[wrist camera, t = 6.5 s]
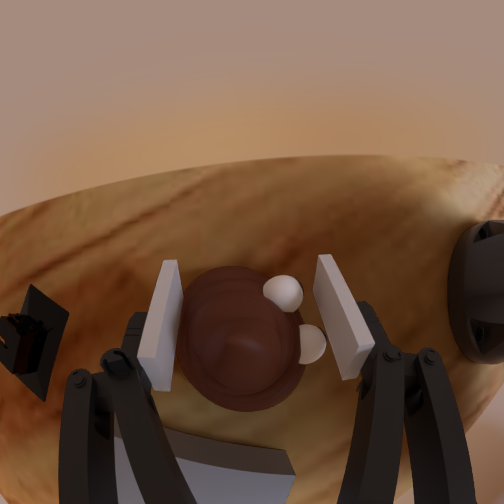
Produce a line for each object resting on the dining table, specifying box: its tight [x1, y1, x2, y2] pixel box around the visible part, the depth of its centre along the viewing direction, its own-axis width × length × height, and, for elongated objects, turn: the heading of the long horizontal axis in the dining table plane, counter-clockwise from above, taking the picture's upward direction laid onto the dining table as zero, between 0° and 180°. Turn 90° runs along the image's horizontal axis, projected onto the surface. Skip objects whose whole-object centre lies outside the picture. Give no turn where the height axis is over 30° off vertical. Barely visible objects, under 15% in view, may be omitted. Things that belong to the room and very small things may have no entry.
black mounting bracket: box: [0, 284, 69, 402], centre depth 16 cm, size 12×7×5 cm, turn 156°
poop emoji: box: [175, 266, 327, 412], centre depth 14 cm, size 10×8×9 cm
